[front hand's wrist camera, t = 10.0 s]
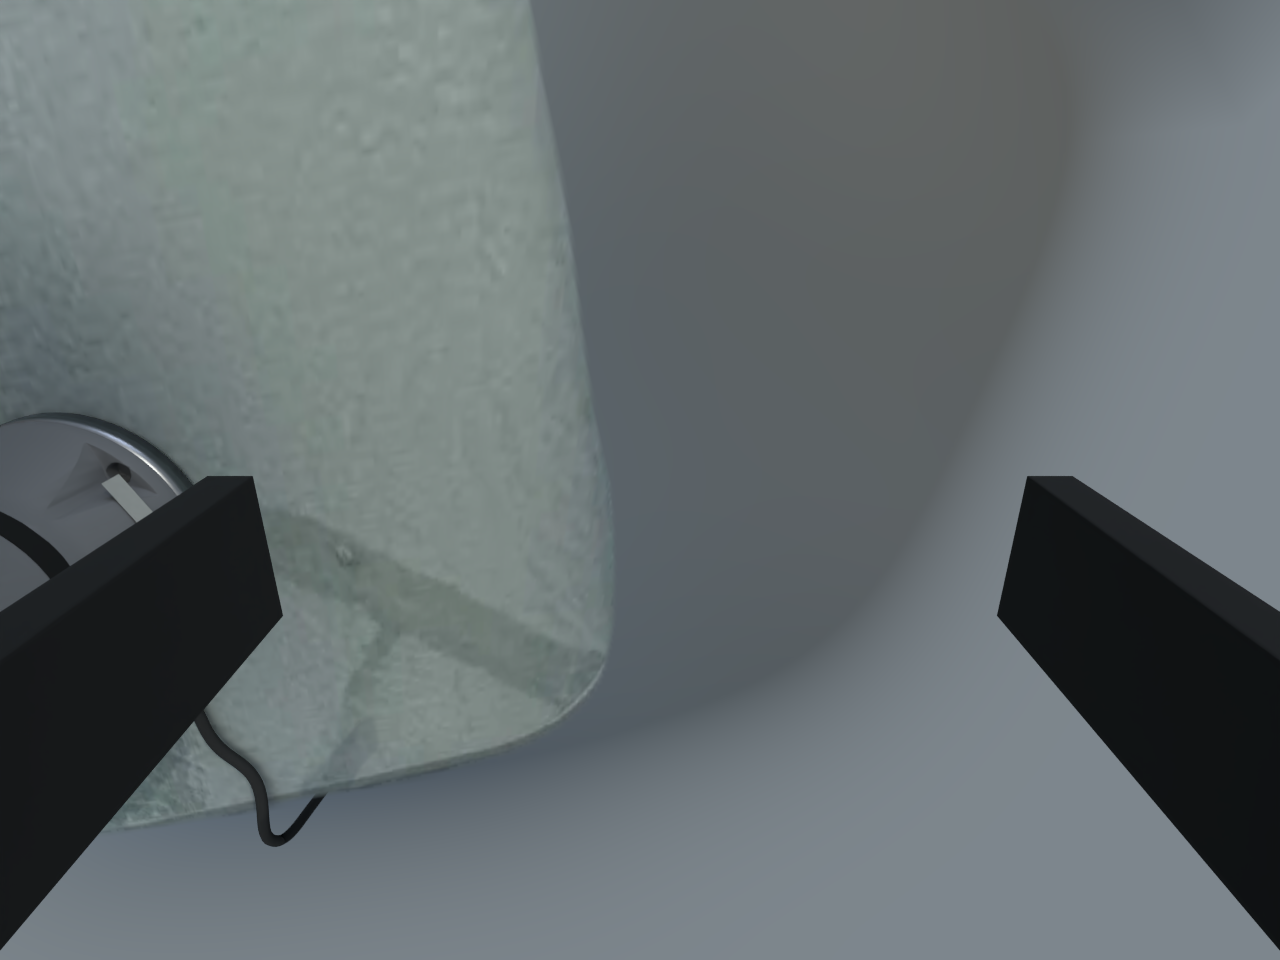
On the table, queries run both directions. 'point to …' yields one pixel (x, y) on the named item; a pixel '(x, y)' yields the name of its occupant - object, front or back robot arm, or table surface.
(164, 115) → the table surface
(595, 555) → the table surface
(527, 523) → the table surface
